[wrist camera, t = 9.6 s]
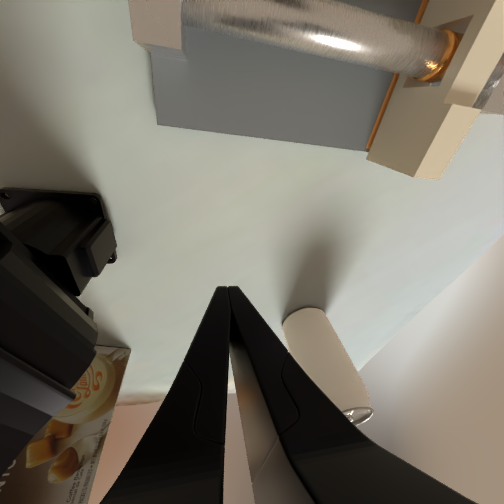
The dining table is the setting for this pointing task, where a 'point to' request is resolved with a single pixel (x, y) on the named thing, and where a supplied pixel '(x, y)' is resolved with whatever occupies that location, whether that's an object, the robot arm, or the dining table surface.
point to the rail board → (277, 88)
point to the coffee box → (69, 440)
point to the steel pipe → (312, 35)
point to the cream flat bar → (441, 92)
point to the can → (327, 362)
